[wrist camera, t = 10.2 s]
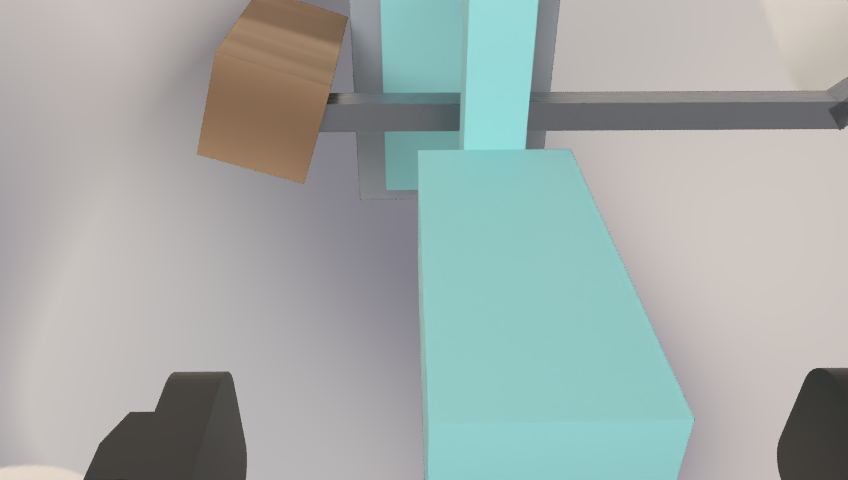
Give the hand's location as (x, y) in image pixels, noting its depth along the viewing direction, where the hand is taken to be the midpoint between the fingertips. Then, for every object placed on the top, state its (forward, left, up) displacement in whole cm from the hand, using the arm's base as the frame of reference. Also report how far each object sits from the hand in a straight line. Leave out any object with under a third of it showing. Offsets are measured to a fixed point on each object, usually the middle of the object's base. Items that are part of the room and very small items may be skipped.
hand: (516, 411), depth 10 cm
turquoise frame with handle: (0, 0, -17) cm, 17 cm away
